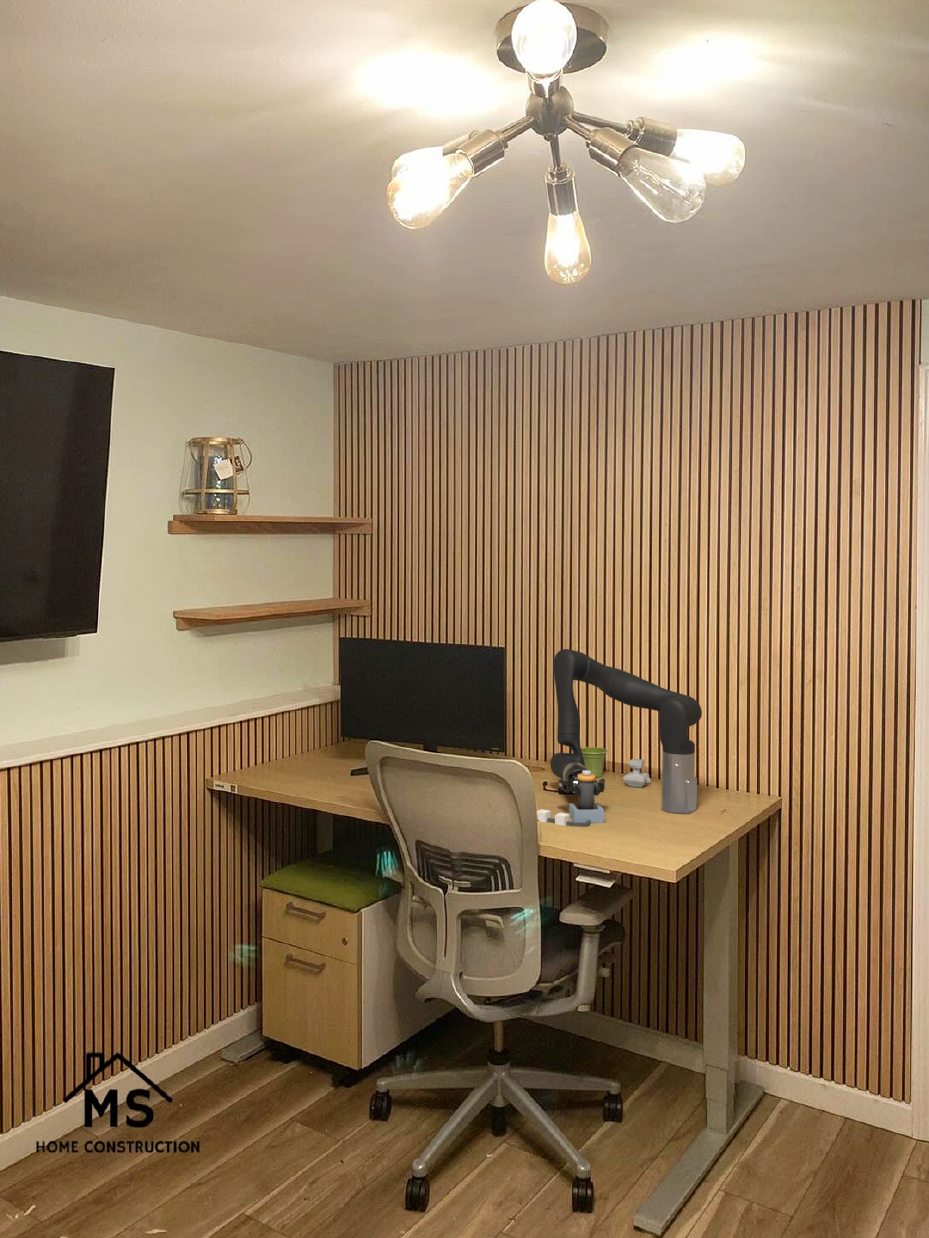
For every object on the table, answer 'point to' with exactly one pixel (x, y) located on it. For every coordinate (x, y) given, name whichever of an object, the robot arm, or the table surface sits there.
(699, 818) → the table surface
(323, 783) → the table surface
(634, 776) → the stamp
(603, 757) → the plant pot
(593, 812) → the end holder
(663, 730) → the robot arm
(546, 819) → the routed cable
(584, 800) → the grey and orange bottle
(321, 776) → the table surface
